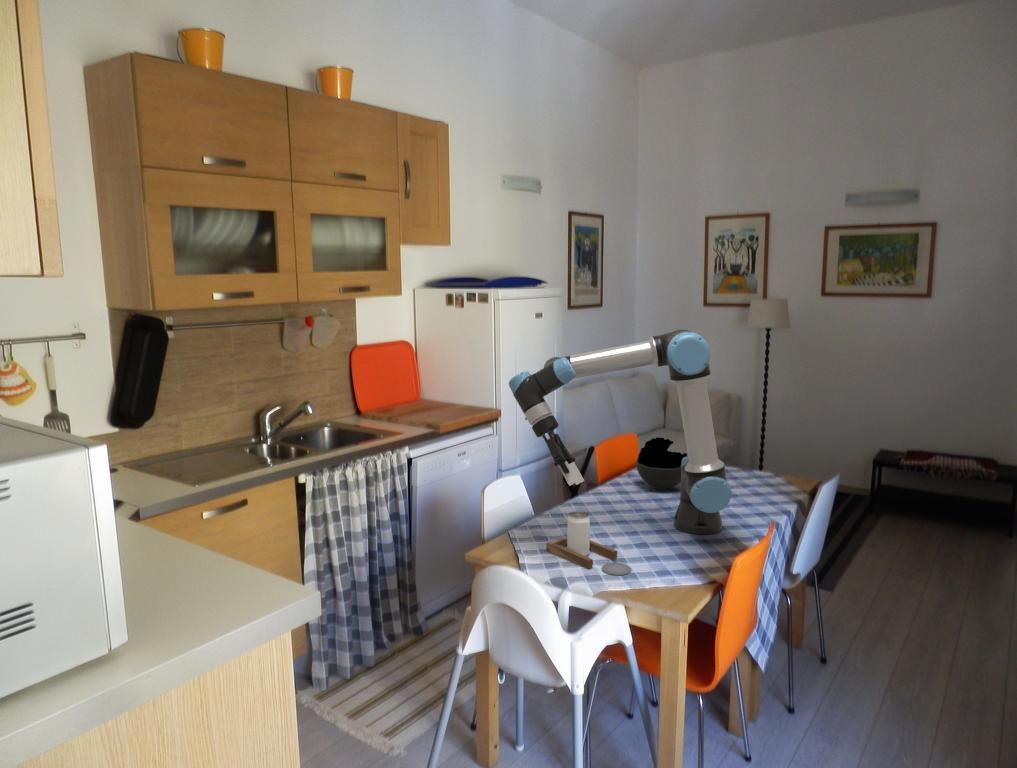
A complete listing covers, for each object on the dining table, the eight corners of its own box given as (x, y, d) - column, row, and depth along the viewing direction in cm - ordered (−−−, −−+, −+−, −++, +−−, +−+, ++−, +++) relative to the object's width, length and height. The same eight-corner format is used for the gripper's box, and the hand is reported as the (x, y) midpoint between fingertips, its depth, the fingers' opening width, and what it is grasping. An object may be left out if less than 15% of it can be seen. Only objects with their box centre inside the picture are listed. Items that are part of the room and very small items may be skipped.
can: (587, 549, 216) (588, 510, 214) (590, 557, 209) (591, 517, 207) (565, 549, 215) (566, 510, 214) (568, 558, 209) (568, 518, 207)
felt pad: (615, 561, 206) (615, 560, 206) (637, 570, 200) (637, 569, 200) (595, 568, 201) (595, 567, 201) (617, 578, 195) (617, 576, 195)
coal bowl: (669, 478, 290) (670, 432, 287) (699, 492, 272) (701, 443, 269) (625, 483, 283) (626, 436, 280) (653, 498, 264) (655, 447, 262)
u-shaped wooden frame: (574, 541, 222) (574, 533, 221) (617, 559, 208) (617, 550, 208) (546, 550, 215) (546, 542, 214) (588, 569, 201) (588, 560, 201)
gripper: (539, 429, 229) (572, 488, 225) (522, 424, 205) (558, 490, 201) (559, 417, 228) (593, 476, 224) (545, 410, 204) (582, 477, 200)
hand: (577, 483), depth 212 cm, fingers open, 13 cm apart
